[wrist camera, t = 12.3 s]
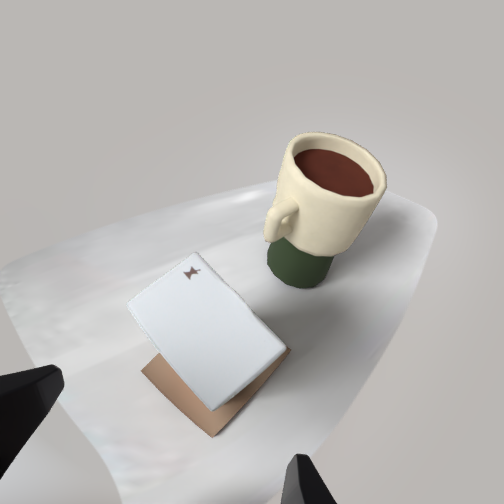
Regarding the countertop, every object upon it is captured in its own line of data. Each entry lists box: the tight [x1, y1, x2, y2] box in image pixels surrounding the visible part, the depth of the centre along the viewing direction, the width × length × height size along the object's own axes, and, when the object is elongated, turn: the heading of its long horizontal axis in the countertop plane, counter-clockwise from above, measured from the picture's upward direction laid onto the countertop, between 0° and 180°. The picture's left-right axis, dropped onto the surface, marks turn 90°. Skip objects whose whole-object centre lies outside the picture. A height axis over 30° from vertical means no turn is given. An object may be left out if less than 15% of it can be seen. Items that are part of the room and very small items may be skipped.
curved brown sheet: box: [141, 346, 291, 438], centre depth 21 cm, size 10×8×1 cm
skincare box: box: [127, 252, 286, 411], centre depth 16 cm, size 6×4×12 cm
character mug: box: [263, 132, 387, 289], centre depth 22 cm, size 11×7×13 cm, turn 126°
